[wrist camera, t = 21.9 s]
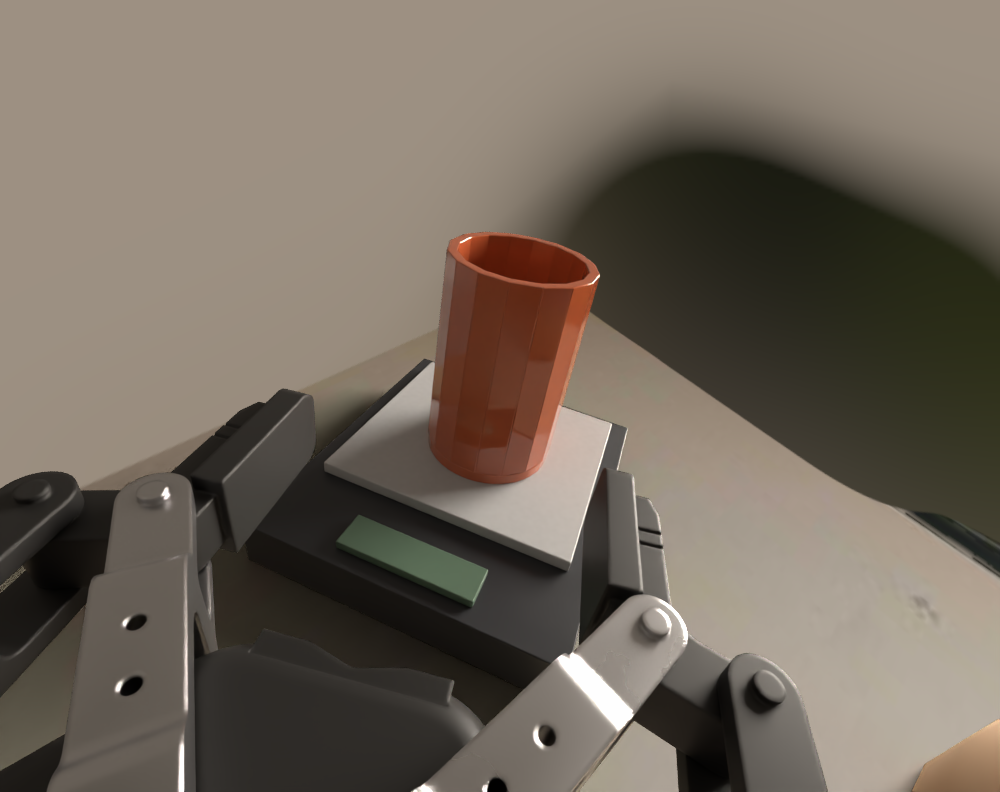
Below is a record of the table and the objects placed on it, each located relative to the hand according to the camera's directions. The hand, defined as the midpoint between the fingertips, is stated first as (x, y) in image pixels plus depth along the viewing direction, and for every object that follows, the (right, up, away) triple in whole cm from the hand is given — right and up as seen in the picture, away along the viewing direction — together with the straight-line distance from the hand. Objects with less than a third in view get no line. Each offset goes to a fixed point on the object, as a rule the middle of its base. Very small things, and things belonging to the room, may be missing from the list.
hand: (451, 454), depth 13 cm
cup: (+1, -1, +13) cm, 13 cm away
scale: (0, -4, +13) cm, 14 cm away
